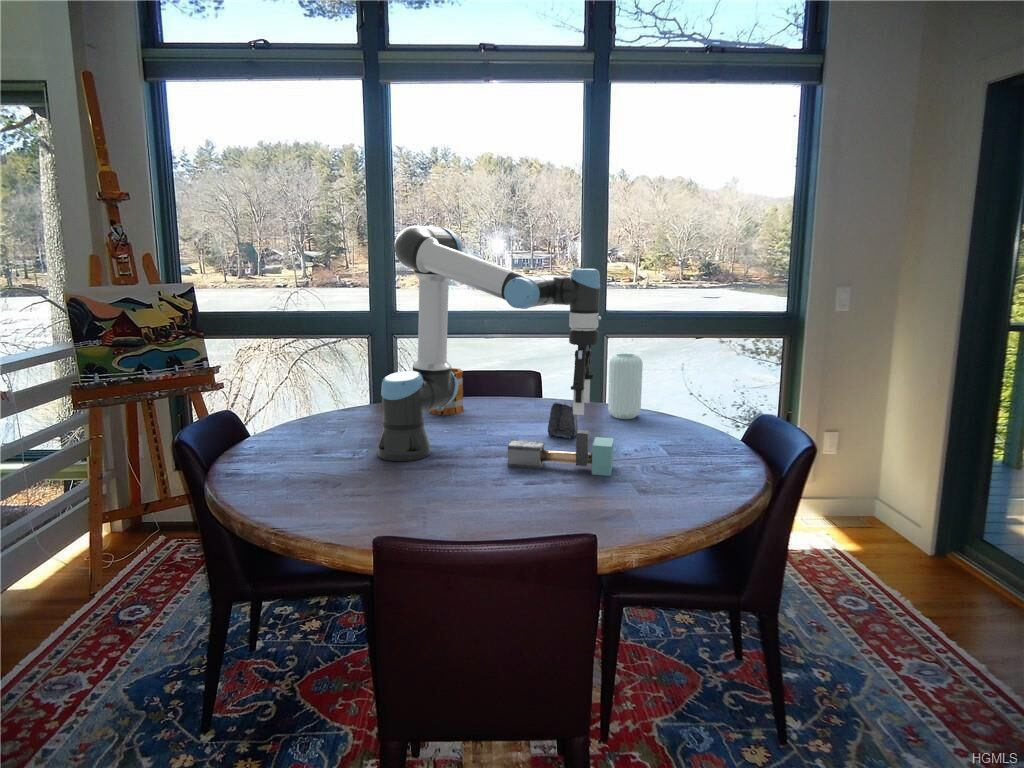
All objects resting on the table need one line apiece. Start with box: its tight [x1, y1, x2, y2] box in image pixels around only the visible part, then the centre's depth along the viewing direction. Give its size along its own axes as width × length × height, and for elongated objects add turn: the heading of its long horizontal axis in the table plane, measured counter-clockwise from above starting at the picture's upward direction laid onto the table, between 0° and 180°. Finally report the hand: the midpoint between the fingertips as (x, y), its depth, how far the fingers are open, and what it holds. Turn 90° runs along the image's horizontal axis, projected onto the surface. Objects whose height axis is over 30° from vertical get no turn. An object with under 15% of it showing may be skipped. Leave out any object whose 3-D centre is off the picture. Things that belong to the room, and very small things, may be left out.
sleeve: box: [507, 439, 545, 470], centre depth 179 cm, size 9×6×6 cm, turn 77°
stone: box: [547, 401, 579, 440], centre depth 209 cm, size 12×10×10 cm
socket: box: [591, 436, 615, 477], centre depth 175 cm, size 5×8×8 cm, turn 167°
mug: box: [428, 367, 465, 416], centre depth 237 cm, size 20×14×15 cm
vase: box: [607, 352, 643, 420], centre depth 231 cm, size 12×12×22 cm
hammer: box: [541, 429, 592, 467], centre depth 176 cm, size 20×3×9 cm, turn 77°
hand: (581, 408), depth 173 cm, fingers open, 13 cm apart
